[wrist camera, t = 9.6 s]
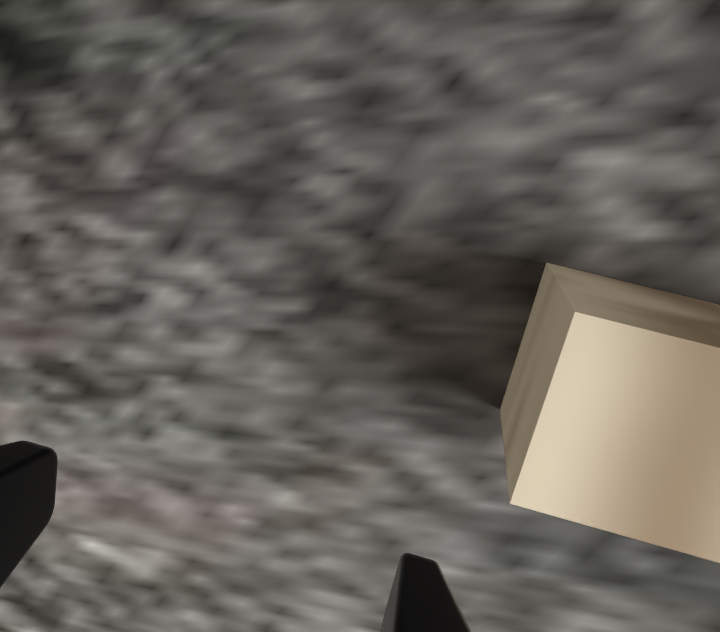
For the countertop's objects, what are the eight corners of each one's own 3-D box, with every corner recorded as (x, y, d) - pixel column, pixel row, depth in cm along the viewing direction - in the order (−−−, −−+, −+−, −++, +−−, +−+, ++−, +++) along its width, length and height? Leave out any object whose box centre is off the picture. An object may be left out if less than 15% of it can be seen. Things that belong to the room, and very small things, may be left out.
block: (812, 326, 16) (952, 405, 12) (743, 473, 18) (843, 597, 13) (545, 261, 17) (575, 311, 12) (500, 407, 18) (509, 503, 14)
